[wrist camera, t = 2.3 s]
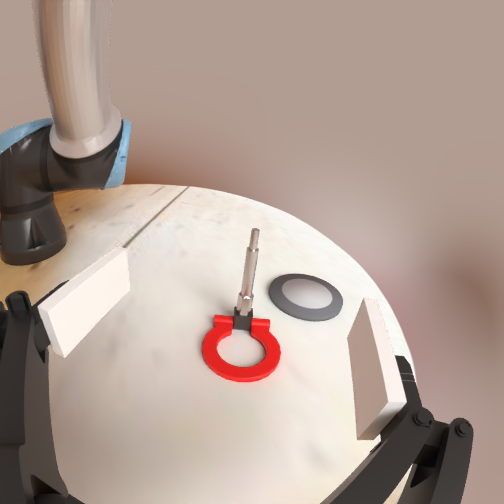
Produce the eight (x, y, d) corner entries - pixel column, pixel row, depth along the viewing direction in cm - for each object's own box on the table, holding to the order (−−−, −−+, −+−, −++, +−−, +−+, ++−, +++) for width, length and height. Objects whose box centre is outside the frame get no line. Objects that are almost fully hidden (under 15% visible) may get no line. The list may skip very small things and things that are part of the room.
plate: (262, 277, 44) (263, 272, 44) (325, 278, 47) (326, 273, 46) (279, 322, 35) (280, 317, 34) (353, 319, 37) (355, 314, 37)
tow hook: (282, 386, 26) (275, 325, 34) (317, 285, 20) (297, 231, 28) (198, 380, 25) (207, 319, 33) (199, 273, 19) (212, 221, 27)
